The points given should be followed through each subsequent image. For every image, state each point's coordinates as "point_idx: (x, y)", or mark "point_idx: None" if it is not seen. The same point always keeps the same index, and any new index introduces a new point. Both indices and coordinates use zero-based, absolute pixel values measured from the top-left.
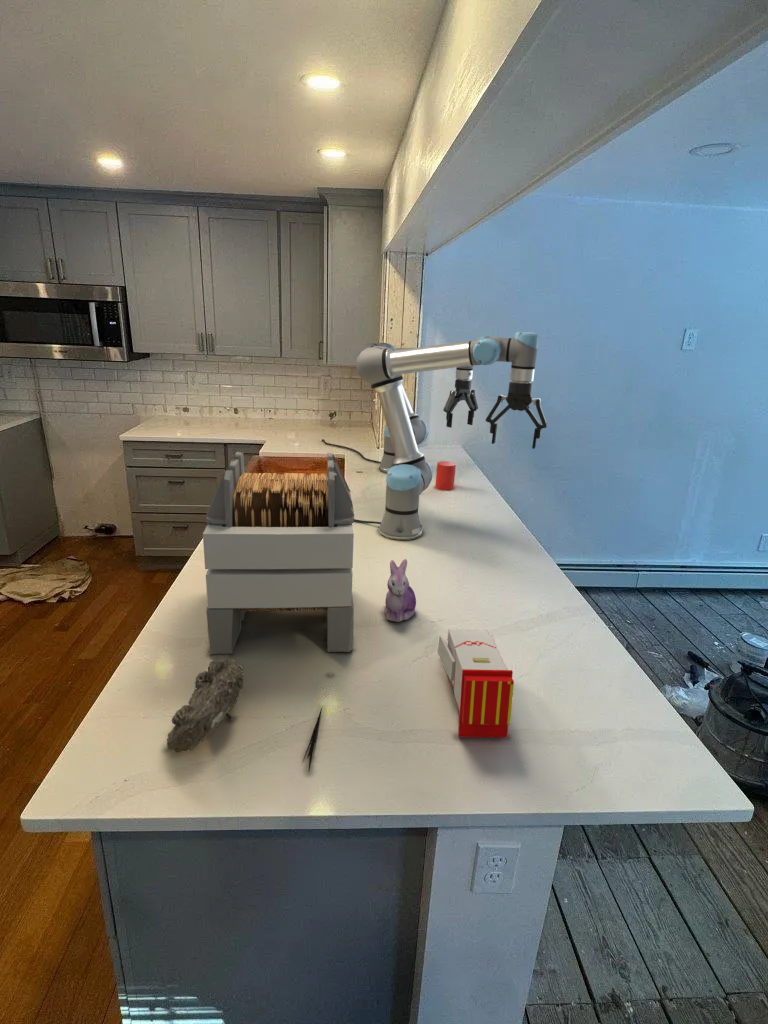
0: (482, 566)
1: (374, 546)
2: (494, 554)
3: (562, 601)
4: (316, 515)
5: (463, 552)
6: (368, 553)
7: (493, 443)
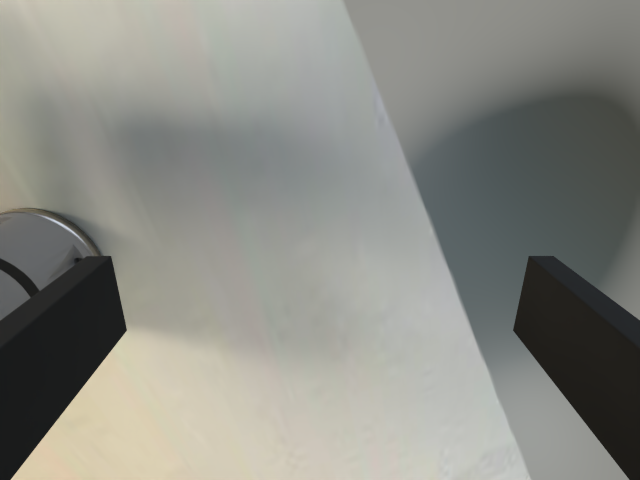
0: (311, 368)
1: None
2: (324, 297)
3: (482, 438)
4: None
5: (249, 317)
6: None
7: (121, 332)
